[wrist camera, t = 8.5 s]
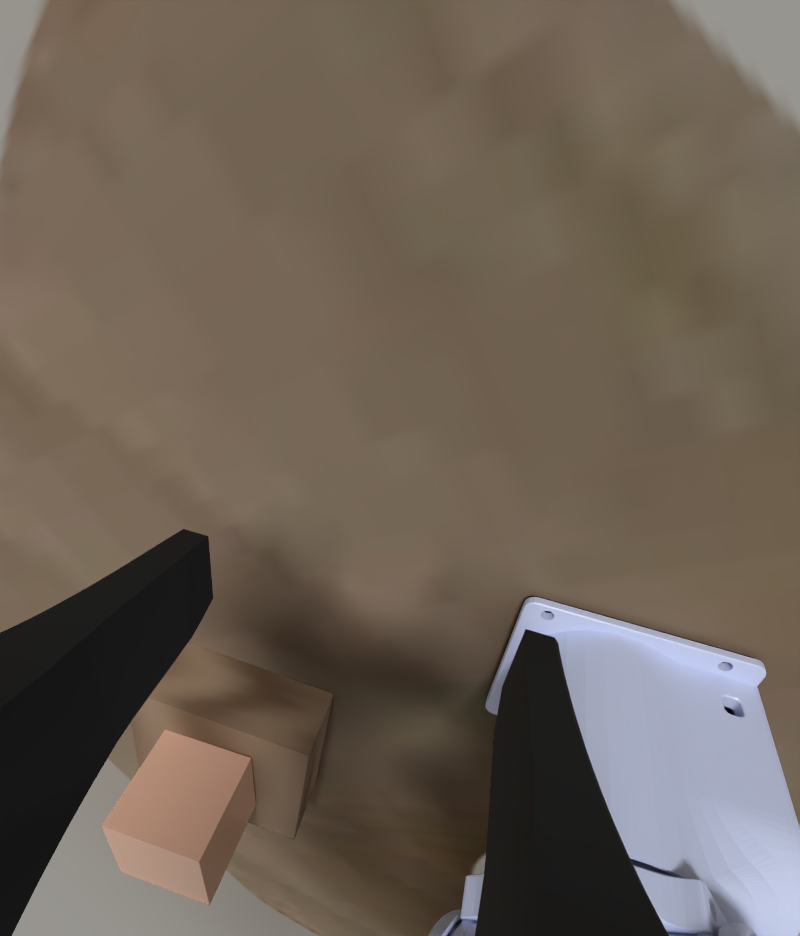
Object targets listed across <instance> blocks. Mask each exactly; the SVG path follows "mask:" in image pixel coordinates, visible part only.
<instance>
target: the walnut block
mask: <svg viewBox="0 0 800 936" xmlns="http://www.w3.org/2000/svg"><path fill="white" fill-rule="evenodd" d="M332 699H333V694H332V693H329V692H327V691H324V690H321V689H318V688H315V687H312V686H309V685H307V684H304V683H301V682H298V681H295V680H292V679H290V678H287V677H284V676H281V675H278V674H275V673H272V672H270V671H267V670H264V669H261V668H258V667H255V666H253V665H250V664H247V663H244V662H241V661H238V660H235V659H233V658H230V657H227V656H224V655H221V654H218V653H216V652H213V651H210V650H207V649H204V648H201V647H198V646H196V645H193V644H190V643H187V645H186V646H185V648H184V649H183V650H182V652H181V653H180V655H179V656H178V657H177V659H176V660H175V662H174V663H173V664H172V666H171V667H170V669H169V670H168V671H167V673H166V674H165V675H164V677H163V678H162V680H161V681H160V682H159V684H158V685H157V686H156V688H155V689H154V691H153V692H152V693H151V695H150V696H149V697H148V699H147V700H146V702H145V703H144V704H143V706H142V707H141V708H140V710H139V711H138V713H137V714H136V715H135V717H134V718H133V719H132V721H131V723H132V728H133V734H134V740H135V746H136V752H137V758H138V764H139V768H140V767H141V765H142V764H143V762H144V761H145V759H146V758H147V756H148V755H149V753H150V752H151V750H152V749H153V747H154V746H155V744H156V743H157V741H158V739H159V738H160V736H161V735H162V733H163V732H164V730H168V731H171V732H174V733H177V734H180V735H183V736H186V737H189V738H192V739H195V740H198V741H201V742H205V743H208V744H211V745H214V746H217V747H220V748H223V749H226V750H229V751H232V752H235V753H238V754H241V755H244V756H247V757H250V758H251V762H252V772H253V782H254V792H255V802H256V806H255V808H254V810H253V812H252V814H251V816H250V819H249V821H248V823H251V824H253V825H256V826H259V827H261V828H264V829H267V830H269V831H272V832H275V833H277V834H280V835H282V836H285V837H288V838H290V839H293V840H294V838H295V836H296V833H297V830H298V828H299V825H300V822H301V820H302V817H303V814H304V812H305V809H306V806H307V804H308V801H309V798H310V796H311V793H312V790H313V788H314V785H315V782H316V778H317V773H318V768H319V764H320V759H321V754H322V749H323V744H324V739H325V734H326V729H327V724H328V719H329V714H330V709H331V704H332Z"/></svg>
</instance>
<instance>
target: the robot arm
mask: <svg viewBox="0 0 800 936" xmlns="http://www.w3.org/2000/svg"><path fill="white" fill-rule="evenodd" d="M212 599H213V591H212V578H211V566H210V553H209V540H208V536H205V535H202V534H198V533H195V532H192V531H188V530H185V529H183V530H181V531H180V532H178V533H176V534H175V535H173V536H171V537H170V538H168V539H166V540H165V541H163V542H162V543H160V544H158V545H157V546H155V547H153V548H152V549H150V550H149V551H147V552H145V553H144V554H142V555H141V556H139V557H137V558H136V559H134V560H133V561H131V562H129V563H128V564H126V565H125V566H123V567H121V568H120V569H118V570H116V571H115V572H113V573H111V574H110V575H108V576H106V577H105V578H103V579H101V580H100V581H98V582H96V583H94V584H93V585H91V586H89V587H88V588H86V589H84V590H82V591H81V592H79V593H77V594H75V595H73V596H72V597H70V598H68V599H66V600H64V601H62V602H61V603H59V604H57V605H55V606H53V607H51V608H50V609H48V610H46V611H44V612H42V613H40V614H38V615H36V616H34V617H32V618H30V619H28V620H26V621H24V622H22V623H20V624H18V625H16V626H14V627H12V628H10V629H8V630H5V631H3V632H1V633H0V936H12V934H13V932H14V930H15V928H16V926H17V923H18V922H19V920H20V918H21V916H22V914H23V912H24V910H25V908H26V906H27V904H28V902H29V900H30V897H31V896H32V894H33V892H34V890H35V888H36V886H37V884H38V882H39V880H40V878H41V876H42V874H43V872H44V870H45V868H46V866H47V865H48V863H49V861H50V859H51V857H52V855H53V853H54V852H55V850H56V848H57V846H58V844H59V842H60V840H61V839H62V837H63V835H64V833H65V831H66V829H67V827H68V826H69V824H70V822H71V820H72V819H73V817H74V815H75V813H76V812H77V810H78V808H79V806H80V804H81V803H82V801H83V799H84V797H85V796H86V794H87V792H88V790H89V789H90V787H91V785H92V783H93V781H94V780H95V778H96V777H97V775H98V773H99V771H100V770H101V768H102V766H103V765H104V763H105V761H106V760H107V758H108V756H109V755H110V753H111V751H112V750H113V748H114V746H115V745H116V743H117V741H118V740H119V738H120V737H121V735H122V734H123V733H124V731H125V730H126V728H127V727H128V725H129V724H130V722H131V721H132V719H133V718H134V717H135V715H136V714H137V713H138V711H139V710H140V708H141V707H142V706H143V704H144V703H145V702H146V700H147V699H148V697H149V696H150V695H151V693H152V692H153V691H154V689H155V688H156V686H157V685H158V684H159V682H160V681H161V680H162V678H163V677H164V675H165V674H166V673H167V671H168V670H169V669H170V667H171V666H172V664H173V663H174V662H175V660H176V659H177V657H178V656H179V655H180V653H181V652H182V650H183V649H184V648H185V646H186V645H187V643H188V642H189V640H190V639H191V638H192V636H193V634H194V632H195V631H196V629H197V627H198V625H199V623H200V622H201V620H202V618H203V616H204V614H205V612H206V611H207V609H208V607H209V605H210V603H211V601H212ZM544 611H550V612H551V613H546V612H544ZM722 662H727V663H722ZM765 676H766V670H765V667H764V664H763V663H762V662H761V661H759V660H757V659H754V658H750V657H747V656H743V655H740V654H736V653H733V652H729V651H726V650H722V649H719V648H715V647H711V646H708V645H704V644H701V643H697V642H694V641H690V640H687V639H683V638H680V637H676V636H673V635H669V634H666V633H662V632H659V631H655V630H652V629H648V628H645V627H641V626H637V625H634V624H630V623H627V622H623V621H620V620H616V619H613V618H609V617H606V616H602V615H599V614H595V613H592V612H588V611H585V610H581V609H578V608H574V607H571V606H567V605H563V604H560V603H556V602H553V601H549V600H546V599H542V598H539V597H530V598H528V599H526V600H525V601H524V603H523V606H522V608H521V611H520V614H519V616H518V619H517V621H516V624H515V626H514V629H513V632H512V634H511V637H510V639H509V642H508V645H507V647H506V650H505V652H504V655H503V657H502V660H501V663H500V665H499V668H498V670H497V673H496V676H495V678H494V681H493V683H492V686H491V688H490V691H489V694H488V696H487V699H486V705H485V707H486V709H487V710H488V711H489V712H490V713H492V714H495V715H497V719H496V725H495V731H494V742H493V757H492V772H491V788H490V804H489V821H488V837H487V851H486V861H485V871H484V874H478V875H468V876H466V880H465V887H464V894H463V901H462V909H461V910H454V911H451V912H449V913H447V914H446V915H444V916H443V917H442V918H441V919H440V920H439V921H438V922H437V923H436V924H435V925H434V927H433V928H432V930H431V931H430V933H429V934H428V936H798V934H799V932H800V829H799V825H798V821H797V818H796V815H795V811H794V808H793V805H792V801H791V798H790V795H789V791H788V788H787V784H786V781H785V778H784V774H783V771H782V768H781V764H780V761H779V758H778V754H777V751H776V748H775V744H774V741H773V738H772V734H771V731H770V728H769V724H768V721H767V718H766V714H765V711H764V708H763V704H762V701H761V698H760V694H759V691H758V688H757V686H758V685H759V684H760V682H761V681H762V680H763V679H764V678H765Z"/></svg>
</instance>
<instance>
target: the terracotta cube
mask: <svg viewBox="0 0 800 936" xmlns="http://www.w3.org/2000/svg"><path fill="white" fill-rule="evenodd" d="M255 806H256V802H255V792H254V782H253V772H252V762H251V758H250V757H247V756H244V755H241V754H238V753H235V752H232V751H229V750H226V749H223V748H220V747H217V746H214V745H211V744H208V743H205V742H201V741H198V740H195V739H192V738H189V737H186V736H183V735H180V734H177V733H174V732H171V731H168V730H164V732H163V733H162V735H161V736H160V738H159V739H158V741H157V743H156V744H155V746H154V747H153V749H152V750H151V752H150V753H149V755H148V756H147V758H146V759H145V761H144V762H143V764H142V765H141V767H140V768H139V770H138V771H137V773H136V774H135V776H134V777H133V779H132V781H131V782H130V784H129V785H128V787H127V788H126V790H125V791H124V793H123V794H122V796H121V797H120V799H119V800H118V802H117V803H116V805H115V806H114V808H113V809H112V811H111V812H110V814H109V815H108V817H107V819H106V820H105V822H104V823H103V825H102V828H103V831H104V833H105V835H106V838H107V840H108V843H109V845H110V847H111V849H112V852H113V854H114V857H115V859H116V861H117V864H118V866H119V868H120V871H121V872H123V873H125V874H128V875H131V876H133V877H136V878H139V879H141V880H144V881H146V882H149V883H152V884H154V885H157V886H160V887H162V888H165V889H168V890H170V891H173V892H176V893H178V894H181V895H183V896H186V897H189V898H191V899H194V900H197V901H199V902H202V903H204V904H207V905H210V903H211V901H212V899H213V897H214V895H215V892H216V890H217V888H218V886H219V884H220V881H221V879H222V877H223V875H224V873H225V871H226V869H227V866H228V864H229V862H230V860H231V858H232V855H233V853H234V851H235V849H236V847H237V845H238V842H239V840H240V838H241V836H242V834H243V832H244V829H245V827H246V825H247V823H248V821H249V819H250V816H251V814H252V812H253V810H254V808H255Z"/></svg>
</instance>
